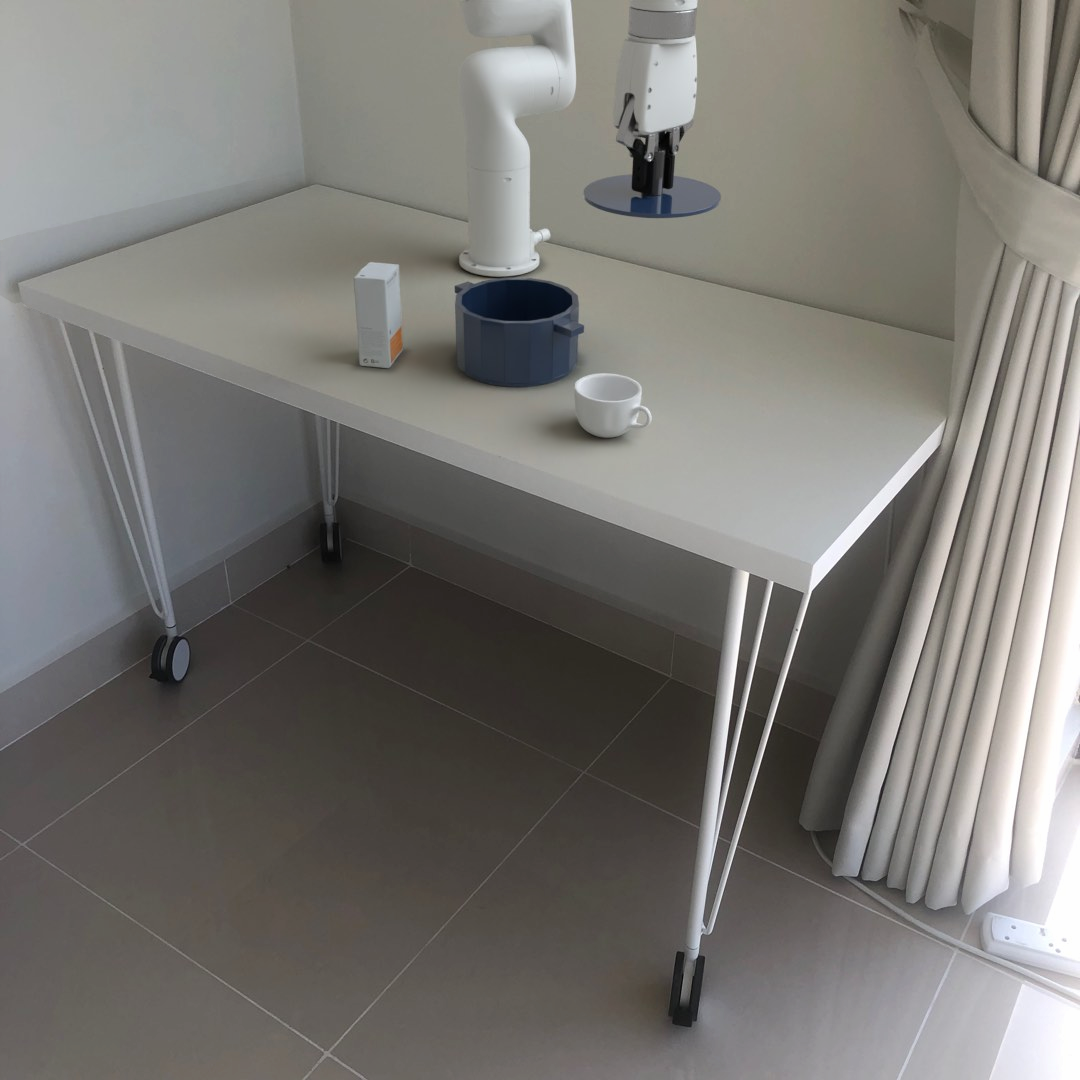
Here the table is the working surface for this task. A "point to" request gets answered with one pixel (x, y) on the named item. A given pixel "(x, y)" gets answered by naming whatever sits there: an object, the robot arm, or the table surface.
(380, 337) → the cosmetic box
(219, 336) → the table surface
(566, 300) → the pot
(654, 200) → the pot lid
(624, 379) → the teacup
